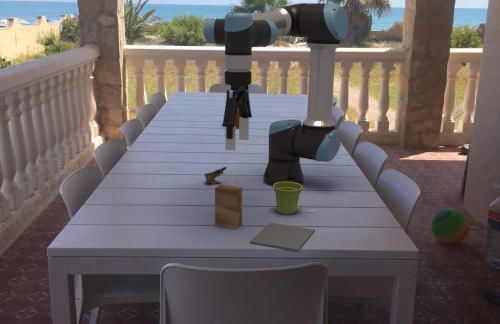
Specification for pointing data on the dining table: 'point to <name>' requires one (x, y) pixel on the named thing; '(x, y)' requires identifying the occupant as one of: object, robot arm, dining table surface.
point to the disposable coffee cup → (237, 120)
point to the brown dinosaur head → (214, 175)
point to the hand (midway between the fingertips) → (237, 144)
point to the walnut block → (228, 206)
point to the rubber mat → (283, 236)
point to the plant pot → (287, 196)
